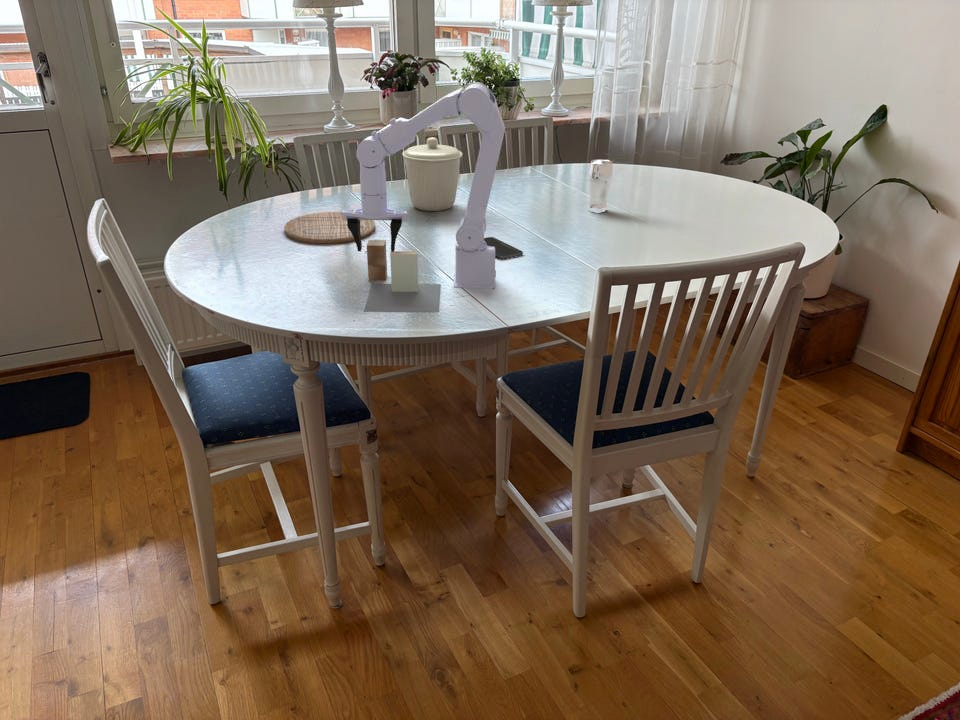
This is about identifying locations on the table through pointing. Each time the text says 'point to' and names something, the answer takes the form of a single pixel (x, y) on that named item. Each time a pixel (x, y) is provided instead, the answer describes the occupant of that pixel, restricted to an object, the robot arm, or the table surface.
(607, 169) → the beer glass
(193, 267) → the table surface
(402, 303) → the rubber mat
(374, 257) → the wooden block
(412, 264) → the flat slab
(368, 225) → the trivet
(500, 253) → the phone
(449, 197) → the canister
